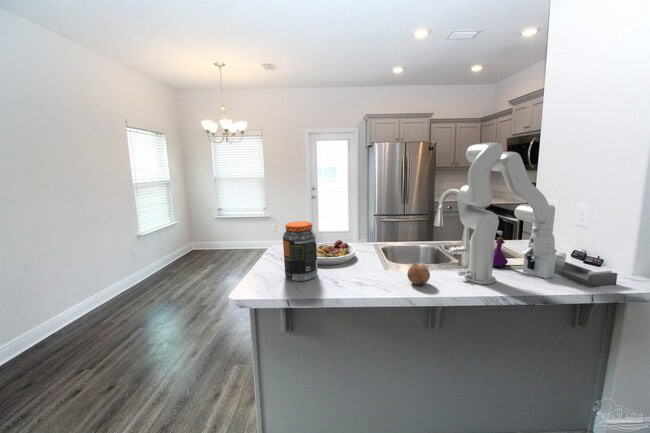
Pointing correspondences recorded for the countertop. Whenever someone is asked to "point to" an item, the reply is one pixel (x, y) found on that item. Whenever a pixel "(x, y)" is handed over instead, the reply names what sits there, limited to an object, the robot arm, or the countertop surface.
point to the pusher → (599, 272)
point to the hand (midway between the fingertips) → (538, 267)
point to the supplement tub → (300, 251)
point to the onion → (418, 274)
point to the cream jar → (560, 260)
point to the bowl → (334, 253)
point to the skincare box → (541, 265)
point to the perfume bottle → (499, 252)
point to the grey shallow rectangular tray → (586, 276)
